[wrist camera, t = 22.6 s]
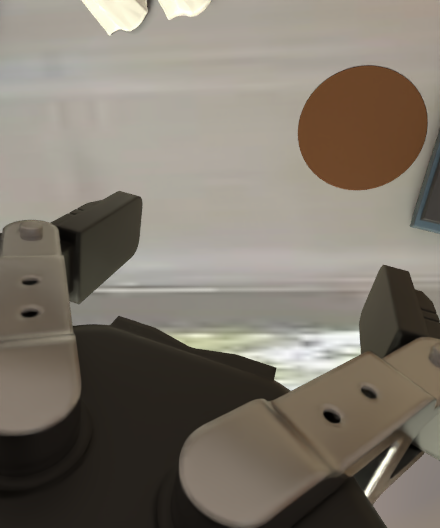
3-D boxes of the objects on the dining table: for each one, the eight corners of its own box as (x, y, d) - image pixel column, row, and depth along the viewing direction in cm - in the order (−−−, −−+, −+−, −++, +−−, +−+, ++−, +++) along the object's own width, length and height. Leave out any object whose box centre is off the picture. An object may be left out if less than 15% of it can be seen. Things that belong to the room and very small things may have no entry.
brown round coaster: (277, 111, 35) (276, 111, 35) (387, 41, 32) (387, 40, 32) (333, 212, 34) (333, 212, 34) (451, 148, 31) (452, 147, 31)
